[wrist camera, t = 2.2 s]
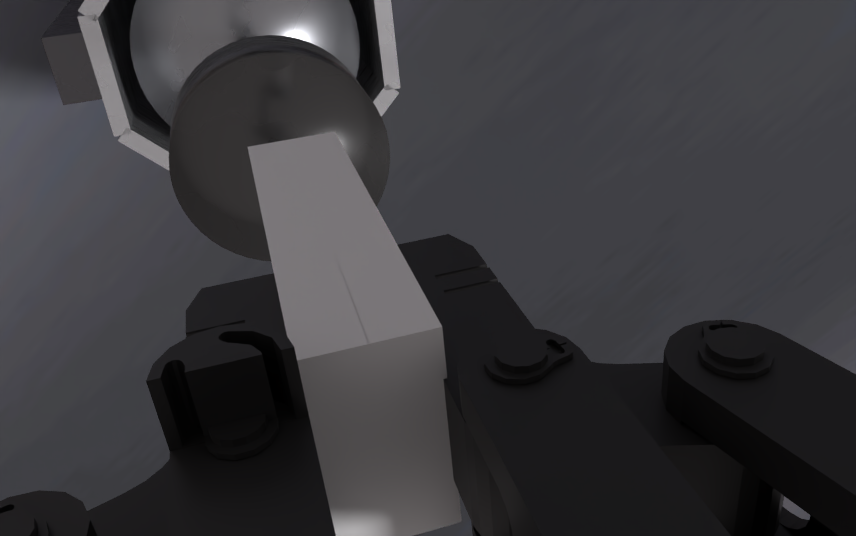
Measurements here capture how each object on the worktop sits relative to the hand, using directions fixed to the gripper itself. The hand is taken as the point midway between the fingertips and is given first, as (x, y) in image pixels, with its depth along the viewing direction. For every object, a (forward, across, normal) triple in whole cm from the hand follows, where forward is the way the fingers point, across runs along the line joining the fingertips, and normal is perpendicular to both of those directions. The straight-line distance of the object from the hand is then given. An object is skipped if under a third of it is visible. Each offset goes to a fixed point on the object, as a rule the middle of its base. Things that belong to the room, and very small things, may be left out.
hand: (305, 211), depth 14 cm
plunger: (+17, 0, 0) cm, 17 cm away
